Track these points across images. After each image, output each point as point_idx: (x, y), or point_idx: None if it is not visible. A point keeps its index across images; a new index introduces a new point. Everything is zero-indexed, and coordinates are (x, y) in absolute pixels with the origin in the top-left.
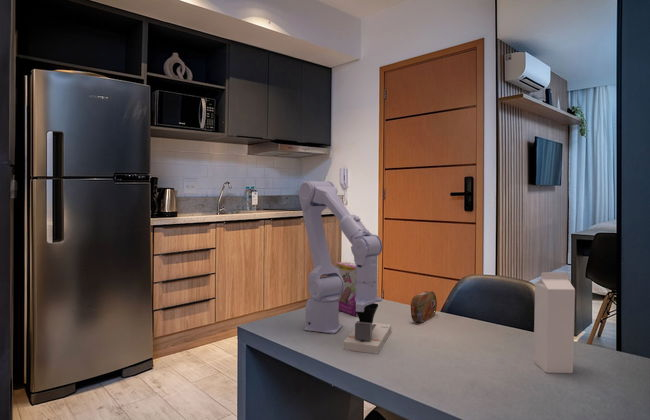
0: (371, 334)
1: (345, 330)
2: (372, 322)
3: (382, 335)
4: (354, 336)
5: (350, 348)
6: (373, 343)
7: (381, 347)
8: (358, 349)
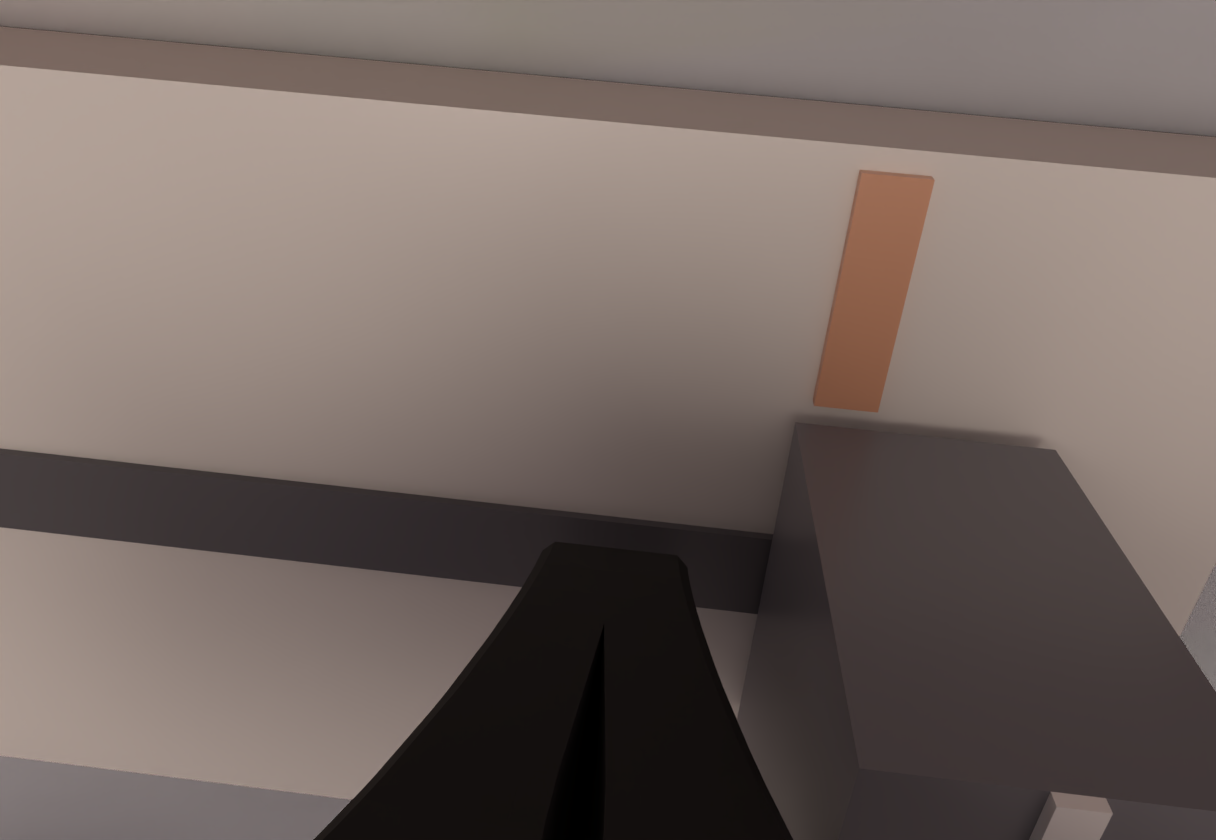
0: (919, 503)
1: (105, 809)
2: (463, 691)
3: (411, 166)
4: None
5: None
6: (1151, 341)
7: (831, 104)
8: None
